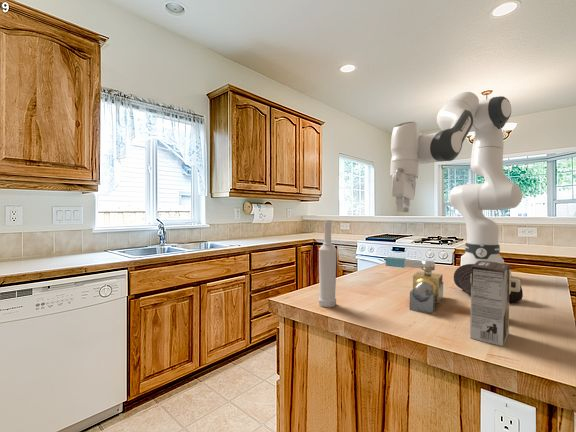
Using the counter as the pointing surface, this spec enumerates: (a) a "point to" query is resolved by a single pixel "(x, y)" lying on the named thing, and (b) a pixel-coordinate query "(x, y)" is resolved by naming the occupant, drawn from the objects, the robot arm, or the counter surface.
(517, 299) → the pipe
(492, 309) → the coffee box
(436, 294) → the valve pipe
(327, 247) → the bottle
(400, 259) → the lever
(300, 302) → the counter surface
